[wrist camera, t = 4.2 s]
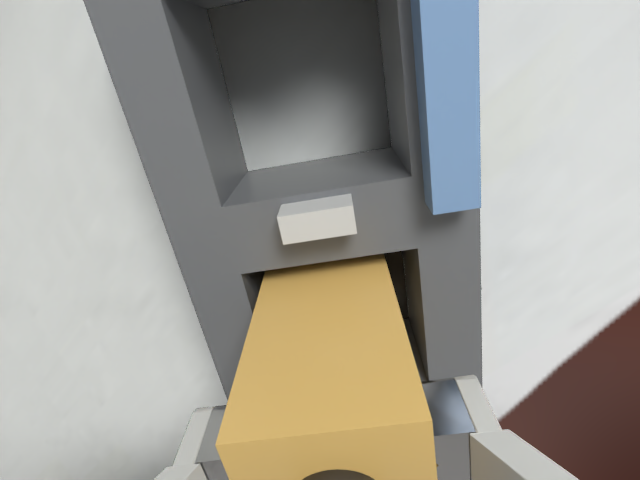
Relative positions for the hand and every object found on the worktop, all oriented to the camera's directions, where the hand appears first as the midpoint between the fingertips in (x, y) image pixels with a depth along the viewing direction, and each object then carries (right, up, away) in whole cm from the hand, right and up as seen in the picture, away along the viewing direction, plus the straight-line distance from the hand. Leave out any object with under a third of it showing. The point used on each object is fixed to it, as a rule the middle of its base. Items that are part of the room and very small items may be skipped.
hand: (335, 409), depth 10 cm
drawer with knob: (0, +3, +6) cm, 7 cm away
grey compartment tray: (0, +6, +5) cm, 8 cm away
